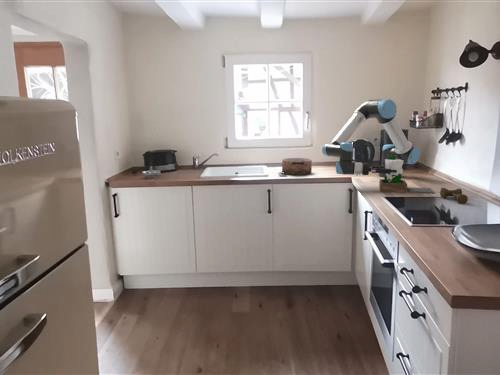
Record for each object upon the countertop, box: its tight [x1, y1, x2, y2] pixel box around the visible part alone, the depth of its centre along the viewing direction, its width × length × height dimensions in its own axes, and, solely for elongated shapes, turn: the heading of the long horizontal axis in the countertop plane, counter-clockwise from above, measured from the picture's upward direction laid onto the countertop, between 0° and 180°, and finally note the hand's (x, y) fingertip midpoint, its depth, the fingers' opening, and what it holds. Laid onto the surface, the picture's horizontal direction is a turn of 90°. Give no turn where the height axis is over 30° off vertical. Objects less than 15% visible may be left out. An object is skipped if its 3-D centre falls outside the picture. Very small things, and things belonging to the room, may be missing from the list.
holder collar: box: [378, 178, 408, 193], centre depth 230 cm, size 14×14×5 cm
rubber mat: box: [407, 186, 435, 195], centre depth 226 cm, size 13×13×1 cm
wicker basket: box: [281, 157, 313, 176], centre depth 295 cm, size 30×22×11 cm
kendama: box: [439, 187, 469, 205], centre depth 203 cm, size 6×10×20 cm
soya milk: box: [384, 156, 404, 183], centre depth 228 cm, size 9×9×20 cm
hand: (401, 170), depth 227 cm, fingers closed on soya milk, 9 cm apart
